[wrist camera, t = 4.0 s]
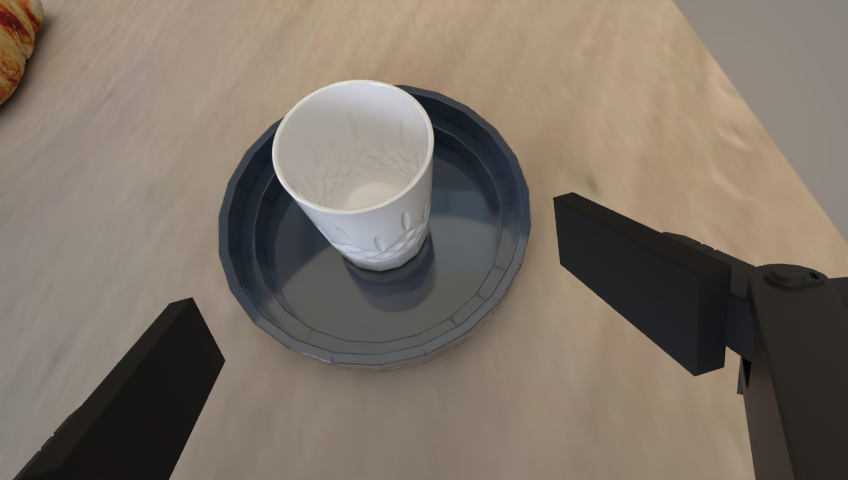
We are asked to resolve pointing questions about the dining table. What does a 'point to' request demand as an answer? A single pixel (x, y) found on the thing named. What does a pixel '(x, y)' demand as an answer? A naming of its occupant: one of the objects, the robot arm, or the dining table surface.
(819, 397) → the robot arm
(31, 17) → the croissant
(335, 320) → the plate
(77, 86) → the dining table surface
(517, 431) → the dining table surface
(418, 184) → the white cup
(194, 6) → the dining table surface
